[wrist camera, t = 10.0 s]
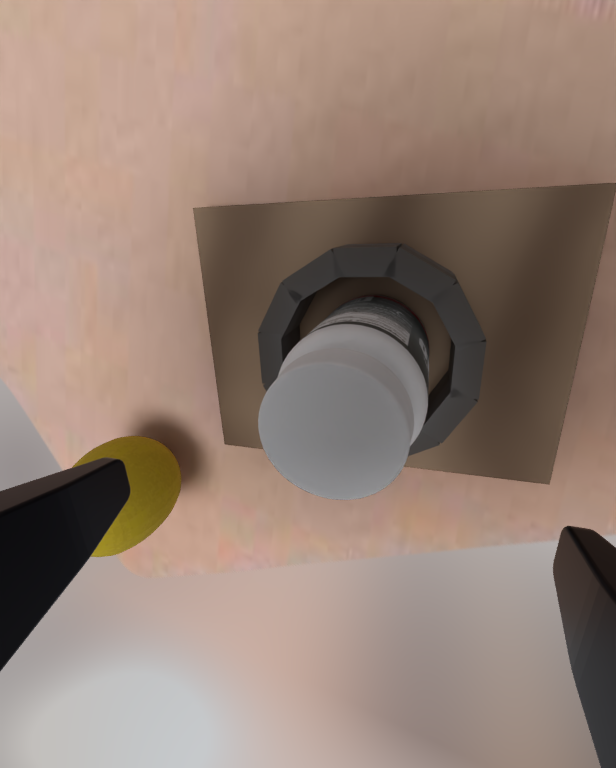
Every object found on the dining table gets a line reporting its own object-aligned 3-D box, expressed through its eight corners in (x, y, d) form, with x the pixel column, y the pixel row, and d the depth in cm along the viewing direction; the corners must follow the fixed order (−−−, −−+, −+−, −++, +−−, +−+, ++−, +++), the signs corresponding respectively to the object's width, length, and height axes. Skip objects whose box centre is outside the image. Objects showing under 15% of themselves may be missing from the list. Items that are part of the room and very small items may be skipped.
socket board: (603, 185, 14) (655, 174, 11) (542, 469, 19) (566, 522, 15) (206, 208, 19) (158, 205, 15) (234, 433, 23) (201, 469, 20)
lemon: (131, 401, 24) (6, 475, 17) (211, 433, 23) (115, 525, 16) (127, 470, 27) (16, 561, 20) (199, 501, 26) (111, 608, 19)
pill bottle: (409, 409, 18) (393, 540, 11) (312, 378, 19) (234, 481, 11) (445, 309, 16) (457, 385, 9) (335, 280, 17) (259, 326, 9)
